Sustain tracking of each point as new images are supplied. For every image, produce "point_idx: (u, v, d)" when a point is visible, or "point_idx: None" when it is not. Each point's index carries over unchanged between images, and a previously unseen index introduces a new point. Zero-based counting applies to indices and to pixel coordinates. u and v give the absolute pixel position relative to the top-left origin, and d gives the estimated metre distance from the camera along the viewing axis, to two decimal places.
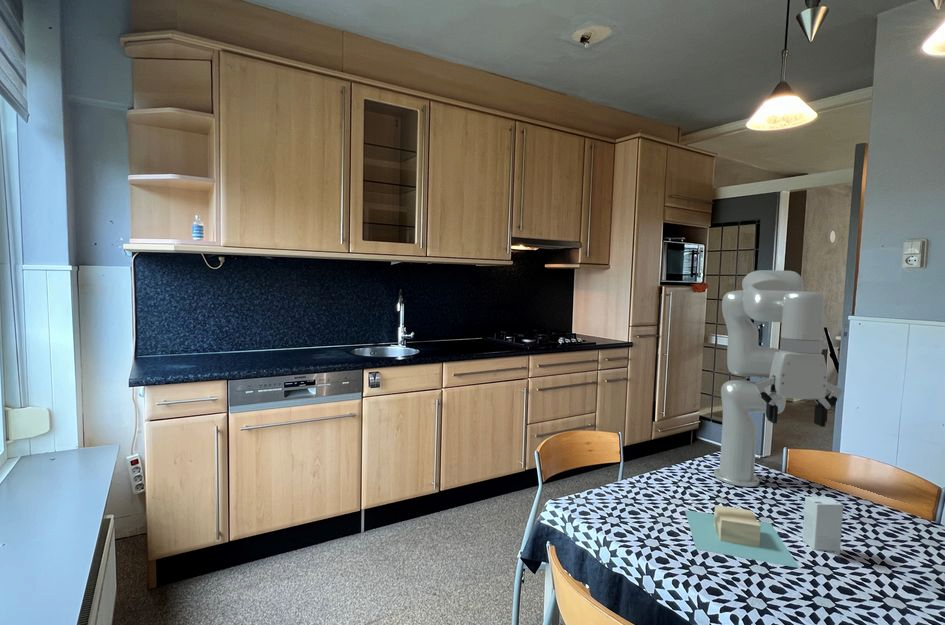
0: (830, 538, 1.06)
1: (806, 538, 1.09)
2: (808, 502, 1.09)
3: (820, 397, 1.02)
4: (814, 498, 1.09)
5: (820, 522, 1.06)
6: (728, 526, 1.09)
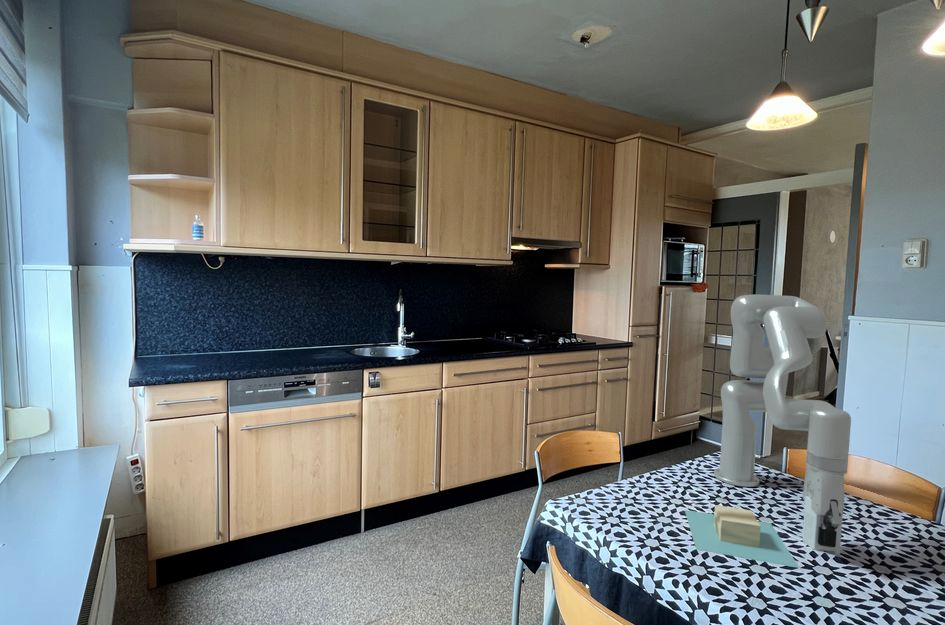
0: None
1: (806, 538, 1.09)
2: (808, 502, 1.09)
3: None
4: None
5: (820, 522, 1.06)
6: (728, 526, 1.09)
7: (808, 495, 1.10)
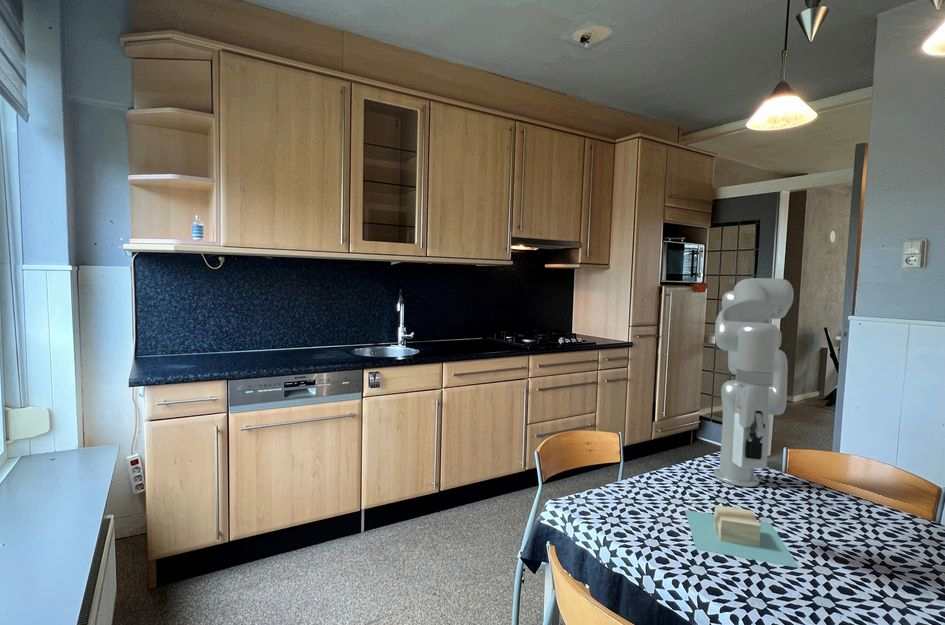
0: None
1: (735, 454, 1.11)
2: (737, 418, 1.11)
3: None
4: None
5: (747, 436, 1.08)
6: (728, 526, 1.09)
7: (737, 412, 1.12)
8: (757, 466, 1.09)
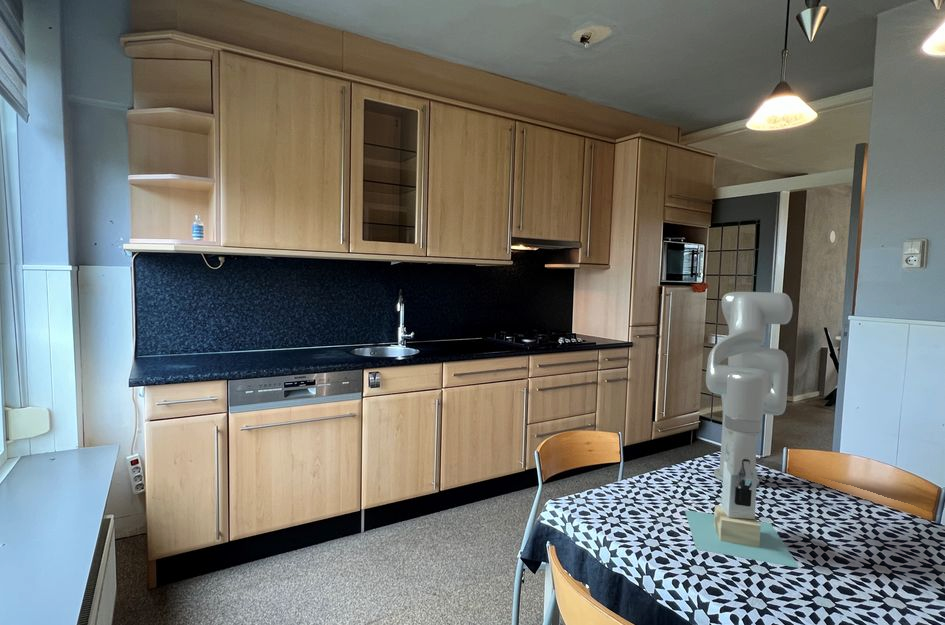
0: None
1: (724, 502, 1.13)
2: (725, 467, 1.12)
3: None
4: None
5: (734, 486, 1.09)
6: (728, 526, 1.09)
7: (726, 457, 1.13)
8: (745, 516, 1.10)
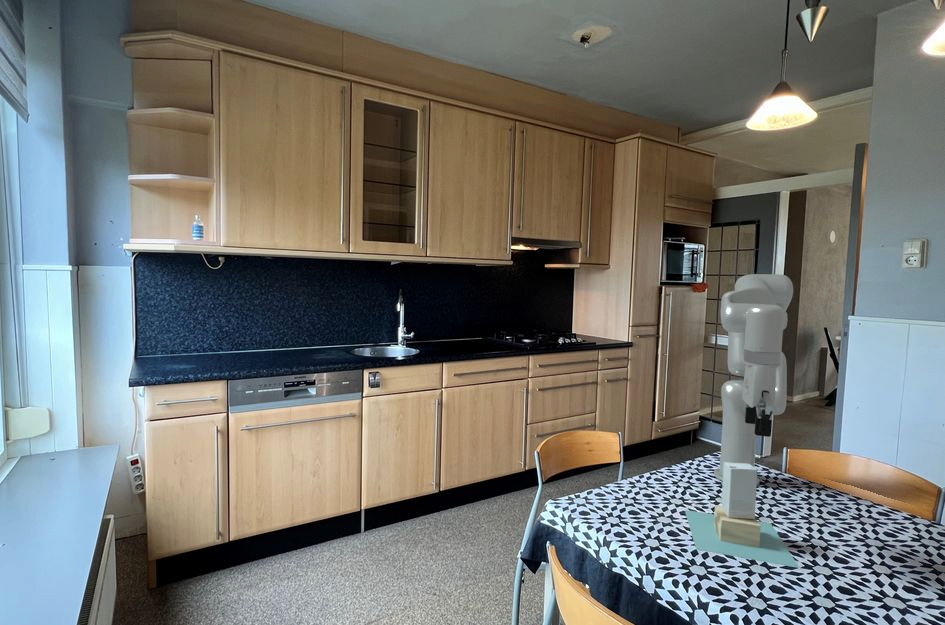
0: (745, 502, 1.09)
1: (724, 502, 1.13)
2: (725, 467, 1.12)
3: None
4: (731, 463, 1.12)
5: (734, 486, 1.09)
6: (728, 526, 1.09)
7: (745, 392, 1.13)
8: (744, 516, 1.10)
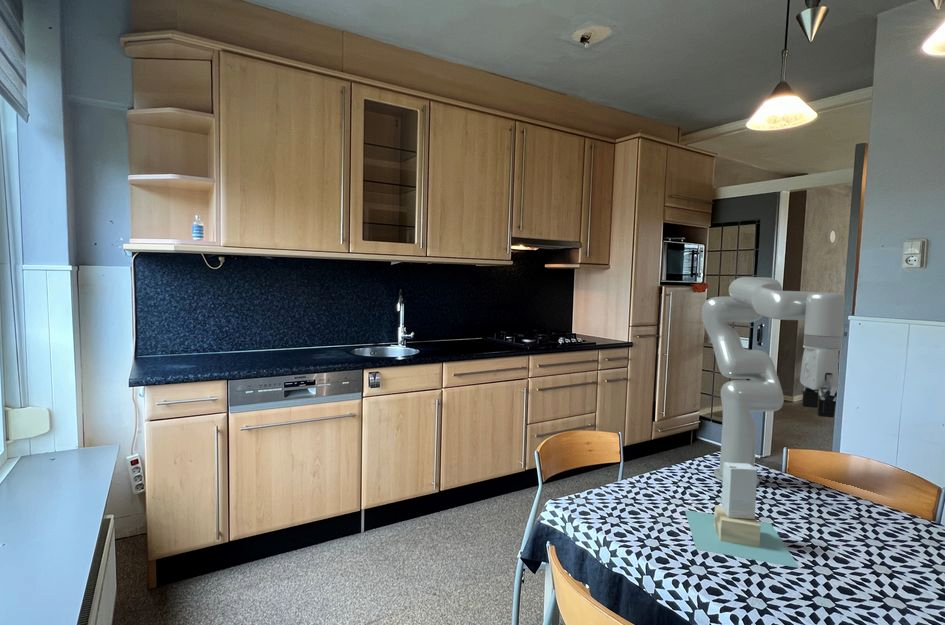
0: (745, 502, 1.09)
1: (724, 502, 1.13)
2: (725, 467, 1.12)
3: None
4: (731, 463, 1.12)
5: (734, 486, 1.09)
6: (728, 526, 1.09)
7: (805, 376, 1.17)
8: (744, 516, 1.10)
